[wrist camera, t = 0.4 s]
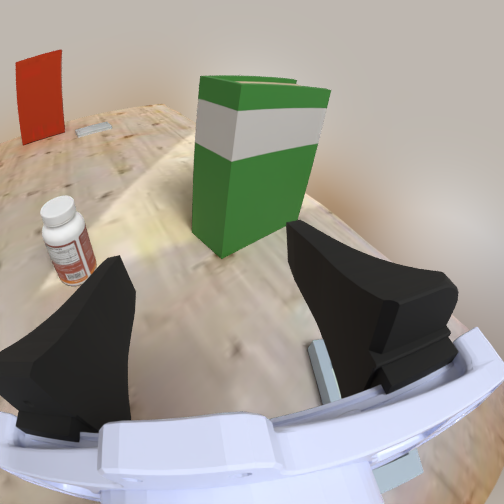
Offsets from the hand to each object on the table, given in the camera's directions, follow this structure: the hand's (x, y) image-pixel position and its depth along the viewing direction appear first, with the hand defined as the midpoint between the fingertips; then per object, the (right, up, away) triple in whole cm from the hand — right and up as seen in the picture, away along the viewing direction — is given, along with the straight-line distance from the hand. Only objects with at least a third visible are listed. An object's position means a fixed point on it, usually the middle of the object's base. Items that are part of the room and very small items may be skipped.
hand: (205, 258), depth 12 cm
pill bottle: (-23, -3, +23) cm, 32 cm away
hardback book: (+1, +5, +36) cm, 36 cm away
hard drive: (-53, +41, +67) cm, 95 cm away
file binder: (-74, +43, +63) cm, 106 cm away
